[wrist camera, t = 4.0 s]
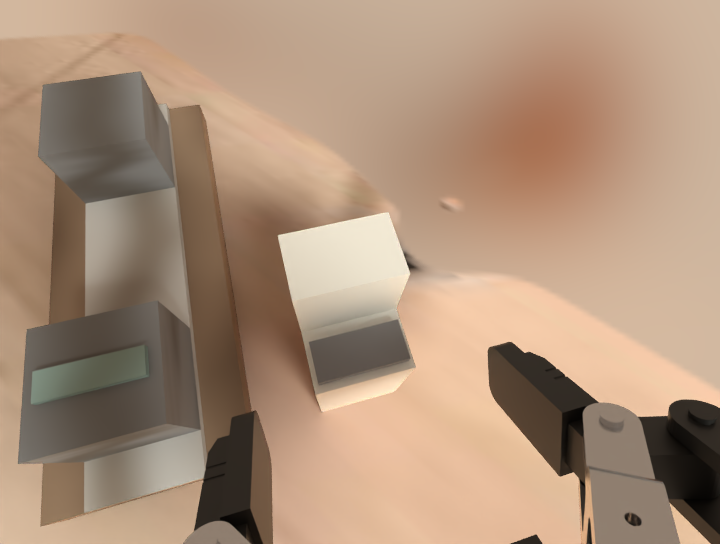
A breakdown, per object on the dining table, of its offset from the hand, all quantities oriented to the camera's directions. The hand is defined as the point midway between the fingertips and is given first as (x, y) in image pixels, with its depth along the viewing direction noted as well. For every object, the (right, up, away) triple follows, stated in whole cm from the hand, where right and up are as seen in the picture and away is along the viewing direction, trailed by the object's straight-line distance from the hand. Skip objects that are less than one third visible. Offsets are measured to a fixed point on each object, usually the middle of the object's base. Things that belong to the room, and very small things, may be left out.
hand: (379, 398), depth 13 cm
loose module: (-1, 0, +9) cm, 9 cm away
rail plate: (-13, +4, +10) cm, 17 cm away
